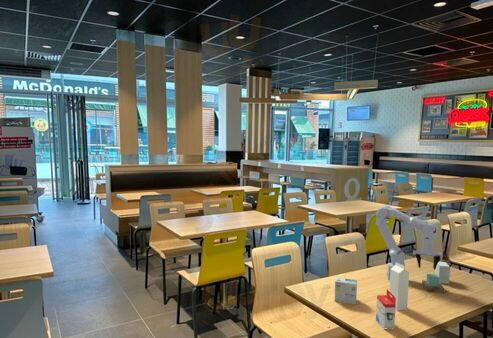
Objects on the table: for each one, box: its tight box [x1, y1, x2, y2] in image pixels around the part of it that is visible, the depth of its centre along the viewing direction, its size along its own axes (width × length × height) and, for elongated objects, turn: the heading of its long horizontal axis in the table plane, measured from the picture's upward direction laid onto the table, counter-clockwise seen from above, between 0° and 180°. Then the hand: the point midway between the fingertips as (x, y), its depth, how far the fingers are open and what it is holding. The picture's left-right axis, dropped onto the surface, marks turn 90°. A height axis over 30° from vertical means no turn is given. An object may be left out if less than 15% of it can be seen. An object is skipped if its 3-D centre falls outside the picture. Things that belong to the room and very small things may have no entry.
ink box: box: [375, 289, 396, 330], centre depth 150 cm, size 8×5×15 cm, turn 3°
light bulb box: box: [334, 276, 358, 305], centre depth 173 cm, size 11×7×11 cm, turn 71°
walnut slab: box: [421, 279, 445, 294], centre depth 188 cm, size 9×9×3 cm
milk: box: [389, 262, 410, 311], centre depth 166 cm, size 6×6×22 cm
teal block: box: [425, 272, 440, 286], centre depth 188 cm, size 5×5×5 cm
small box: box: [434, 261, 451, 285], centre depth 198 cm, size 8×6×10 cm
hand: (426, 268), depth 191 cm, fingers open, 7 cm apart
